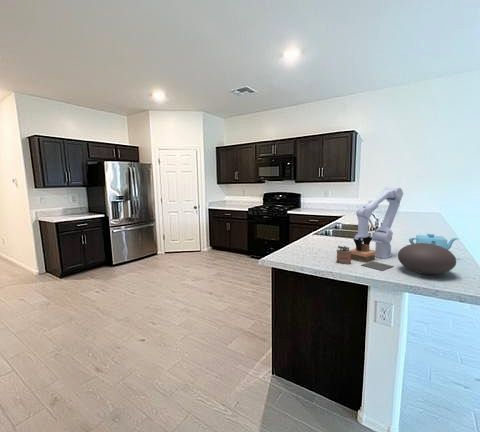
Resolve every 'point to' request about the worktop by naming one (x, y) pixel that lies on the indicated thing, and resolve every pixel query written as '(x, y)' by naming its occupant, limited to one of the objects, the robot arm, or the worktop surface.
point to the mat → (377, 266)
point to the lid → (363, 251)
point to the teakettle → (433, 240)
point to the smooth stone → (427, 258)
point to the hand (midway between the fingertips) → (362, 249)
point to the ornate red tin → (343, 255)
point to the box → (362, 258)
